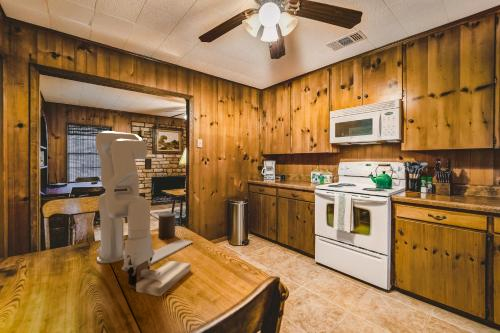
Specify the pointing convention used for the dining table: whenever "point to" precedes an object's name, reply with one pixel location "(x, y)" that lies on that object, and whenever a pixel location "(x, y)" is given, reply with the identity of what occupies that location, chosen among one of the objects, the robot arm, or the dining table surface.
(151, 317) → the dining table surface
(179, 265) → the birch plank
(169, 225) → the pillar candle
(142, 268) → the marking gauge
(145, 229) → the robot arm
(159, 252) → the baseboard
